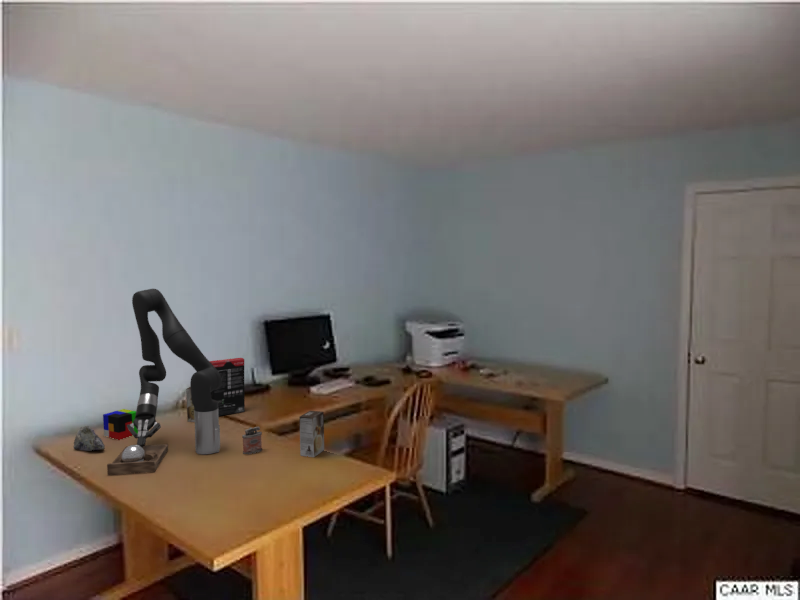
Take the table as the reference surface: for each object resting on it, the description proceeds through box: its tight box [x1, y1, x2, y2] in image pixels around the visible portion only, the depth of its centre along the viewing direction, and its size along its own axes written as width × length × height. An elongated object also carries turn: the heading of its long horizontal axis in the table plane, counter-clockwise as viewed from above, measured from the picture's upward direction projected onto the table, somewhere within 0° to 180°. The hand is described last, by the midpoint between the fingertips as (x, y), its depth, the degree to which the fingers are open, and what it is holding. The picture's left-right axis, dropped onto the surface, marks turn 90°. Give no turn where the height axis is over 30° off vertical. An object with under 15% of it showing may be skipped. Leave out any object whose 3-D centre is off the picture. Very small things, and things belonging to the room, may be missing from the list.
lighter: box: [241, 426, 263, 455], centre depth 234 cm, size 8×3×10 cm, turn 129°
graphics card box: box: [209, 357, 246, 417], centre depth 288 cm, size 17×7×27 cm, turn 130°
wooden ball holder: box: [106, 443, 169, 476], centre depth 224 cm, size 16×24×4 cm, turn 11°
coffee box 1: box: [185, 386, 195, 423], centre depth 277 cm, size 9×6×16 cm
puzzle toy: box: [102, 408, 138, 441], centre depth 256 cm, size 10×10×10 cm
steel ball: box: [122, 444, 145, 463], centre depth 219 cm, size 8×8×8 cm
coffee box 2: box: [299, 410, 325, 458], centre depth 233 cm, size 9×6×16 cm
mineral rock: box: [73, 425, 106, 452], centre depth 236 cm, size 13×11×10 cm
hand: (140, 446), depth 226 cm, fingers closed
